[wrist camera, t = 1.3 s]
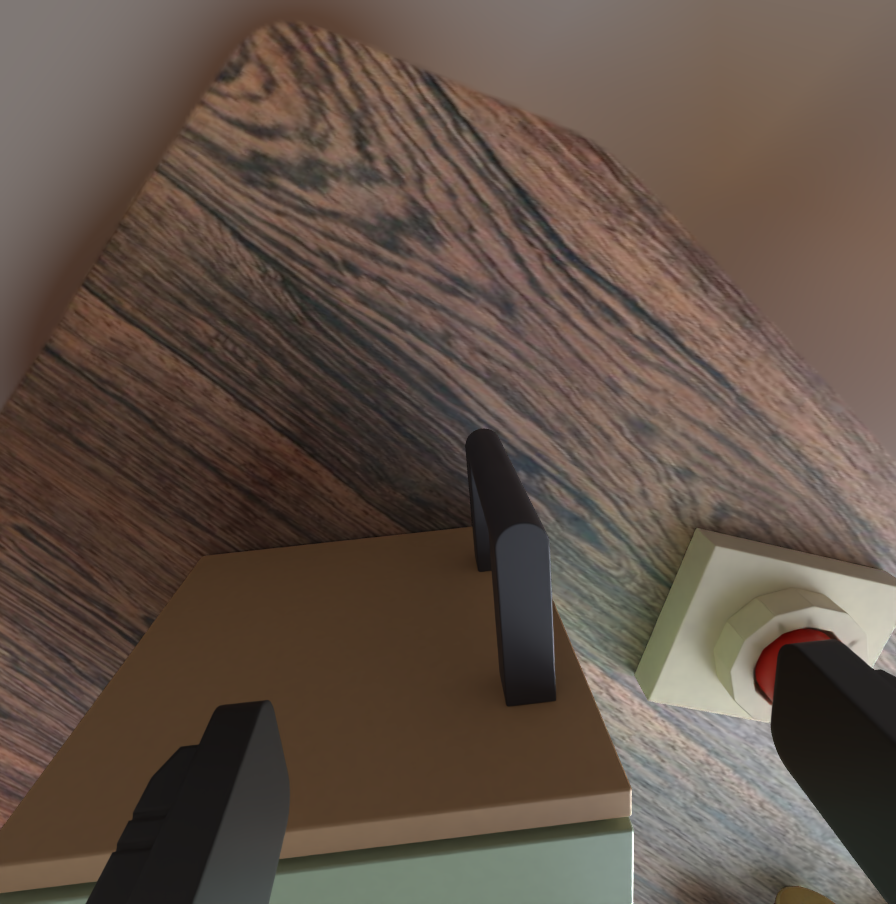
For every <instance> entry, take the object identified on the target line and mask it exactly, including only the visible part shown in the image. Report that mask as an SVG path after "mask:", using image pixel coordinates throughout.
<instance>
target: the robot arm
mask: <svg viewBox="0 0 896 904" xmlns="http://www.w3.org/2000/svg"><path fill="white" fill-rule="evenodd" d="M771 733H772V737H773V741H774V744H775V747H776V750H777V752H778V755H779V757H780V759H781V760H782V762H783V764H784V765H785V767H786V768H787V770H788V771H789V772H790V774H791V775H792V776H793V778H794V779H795V780H796V782H797V783H798V784H799V786H800V787H801V788H802V790H803V791H804V792H805V794H806V795H807V796H808V798H809V799H810V801H811V802H812V803H813V805H814V806H815V807H816V809H817V810H818V811H819V813H820V814H821V815H822V817H823V818H824V819H825V821H826V822H827V823H828V825H829V826H830V827H831V829H832V830H833V831H834V833H835V834H836V835H837V837H838V838H839V839H840V841H841V842H842V843H843V845H844V846H845V847H846V849H847V850H848V851H849V853H850V854H851V855H852V857H853V858H854V859H855V861H856V862H857V863H858V865H859V866H860V867H861V869H862V870H863V871H864V873H865V874H866V875H867V877H868V878H869V879H870V881H871V882H872V883H873V885H874V886H875V887H876V889H877V890H878V891H879V893H880V894H881V895H882V897H883V898H884V899H885V901H886V902H887V903H888V904H896V677H895V676H893V675H891V674H889V673H887V672H885V671H883V670H874V669H873V668H872V667H870V666H869V665H868V664H867V663H866V662H865V661H863V660H862V659H861V658H860V657H859V656H858V655H857V654H855V653H854V652H853V651H852V650H851V649H850V648H848V647H847V646H846V645H845V644H843V643H842V642H840V641H838V640H835V639H827V640H818V641H809V642H800V643H791V644H785V645H783V646H782V647H781V648H780V650H779V652H778V656H777V665H776V674H775V684H774V694H773V703H772V713H771ZM289 807H290V783H289V775H288V770H287V766H286V761H285V757H284V752H283V748H282V743H281V739H280V734H279V729H278V725H277V720H276V716H275V711H274V708H273V705H272V703H271V702H270V701H269V700H262V701H253V702H244V703H235V704H226V705H220V706H218V707H217V708H216V709H215V710H214V712H213V714H212V716H211V719H210V721H209V723H208V725H207V727H206V730H205V732H204V734H203V736H202V738H201V741H200V743H199V744H198V745H189V746H180V748H179V749H178V750H177V751H176V752H175V753H174V754H173V755H172V756H171V757H170V758H169V759H168V760H167V761H166V762H165V763H164V764H163V765H162V767H161V768H160V769H159V770H158V771H157V772H156V773H155V774H154V775H153V776H152V777H151V779H150V781H149V783H148V784H147V786H146V788H145V790H144V792H143V794H142V796H141V798H140V800H139V802H138V804H137V806H136V808H135V809H134V811H133V818H132V820H129V821H128V823H127V825H126V827H125V829H124V831H123V833H122V835H121V836H120V838H119V840H118V842H117V849H116V851H115V852H112V854H111V856H110V858H109V860H108V862H107V863H106V865H105V867H104V869H103V871H102V873H101V875H100V877H99V879H98V881H97V883H96V885H95V887H94V889H93V890H92V892H91V894H90V896H89V898H88V900H87V902H86V904H269V901H270V897H271V892H272V888H273V883H274V879H275V875H276V870H277V866H278V862H279V857H280V853H281V849H282V844H283V840H284V836H285V831H286V827H287V822H288V816H289Z"/></svg>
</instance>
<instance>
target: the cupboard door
mask: <svg viewBox="0 0 896 904" xmlns="http://www.w3.org/2000/svg"><path fill="white" fill-rule="evenodd" d="M465 449H466V460H467V472H468V483H469V495H470V506H471V517H472V527H464V528H455V529H446V530H437V531H428V532H418V533H409V534H400V535H391V536H382V537H372V538H363V539H354V540H345V541H336V542H327V543H317V544H308V545H299V546H290V547H281V548H271V549H262V550H253V551H244V552H235V553H226V554H216V555H207V556H202V557H201V558H200V560H199V561H198V563H197V564H196V565H195V567H194V568H193V569H192V571H191V572H190V573H189V575H188V576H187V577H186V579H185V580H184V582H183V583H182V584H181V586H180V587H179V588H178V590H177V591H176V592H175V594H174V595H173V596H172V598H171V599H170V601H169V602H168V603H167V605H166V606H165V607H164V609H163V610H162V611H161V613H160V614H159V615H158V617H157V618H156V620H155V621H154V622H153V624H152V625H151V626H150V628H149V629H148V630H147V632H146V633H145V634H144V636H143V637H142V638H141V640H140V641H139V643H138V644H137V645H136V647H135V648H134V649H133V651H132V652H131V653H130V655H129V656H128V657H127V659H126V660H125V662H124V663H123V664H122V666H121V667H120V668H119V670H118V671H117V672H116V674H115V675H114V676H113V678H112V679H111V681H110V682H109V683H108V685H107V686H106V687H105V689H104V690H103V691H102V693H101V694H100V695H99V697H98V698H97V700H96V701H95V702H94V704H93V705H92V706H91V708H90V709H89V710H88V712H87V713H86V714H85V716H84V717H83V719H82V720H81V721H80V723H79V724H78V725H77V727H76V728H75V729H74V731H73V732H72V733H71V735H70V736H69V738H68V739H67V740H66V742H65V743H64V744H63V746H62V747H61V748H60V750H59V751H58V752H57V754H56V755H55V756H54V758H53V759H52V761H51V762H50V763H49V765H48V766H47V767H46V769H45V770H44V771H43V773H42V774H41V775H40V777H39V778H38V780H37V781H36V782H35V784H34V785H33V786H32V788H31V789H30V790H29V792H28V793H27V794H26V796H25V797H24V799H23V800H22V801H21V803H20V804H19V805H18V807H17V808H16V809H15V811H14V812H13V813H12V815H11V816H10V818H9V819H8V820H7V822H6V823H5V824H4V826H3V827H2V828H1V830H0V893H6V892H14V891H22V890H31V889H39V888H47V887H55V886H63V885H72V884H80V883H88V882H96V881H98V879H99V877H100V875H101V873H102V871H103V869H104V867H105V865H106V863H107V862H108V860H109V858H110V856H111V854H112V852H115V851H116V849H117V842H118V840H119V838H120V836H121V835H122V833H123V831H124V829H125V827H126V825H127V823H128V821H129V820H132V818H133V811H134V809H135V808H136V806H137V804H138V802H139V800H140V798H141V796H142V794H143V792H144V790H145V788H146V786H147V784H148V783H149V781H150V779H151V777H152V776H153V775H154V774H155V773H156V772H157V771H158V770H159V769H160V768H161V767H162V765H163V764H164V763H165V762H166V761H167V760H168V759H169V758H170V757H171V756H172V755H173V754H174V753H175V752H176V751H177V750H178V749H179V748H180V746H189V745H198V744H199V743H200V741H201V738H202V736H203V734H204V732H205V730H206V727H207V725H208V723H209V721H210V719H211V716H212V714H213V712H214V710H215V709H216V708H217V707H218V706H220V705H226V704H235V703H244V702H253V701H262V700H269V701H270V702H271V703H272V705H273V708H274V711H275V716H276V720H277V725H278V729H279V734H280V739H281V743H282V748H283V752H284V757H285V761H286V766H287V770H288V775H289V783H290V807H289V816H288V822H287V827H286V831H285V836H284V840H283V844H282V849H281V853H280V857H279V859H285V858H293V857H301V856H309V855H317V854H326V853H334V852H342V851H350V850H358V849H366V848H375V847H383V846H391V845H399V844H407V843H416V842H424V841H432V840H440V839H448V838H457V837H465V836H473V835H481V834H489V833H498V832H506V831H514V830H522V829H530V828H538V827H547V826H555V825H563V824H571V823H579V822H588V821H596V820H604V819H612V818H620V817H629V816H631V809H632V788H631V786H630V783H629V781H628V779H627V776H626V774H625V771H624V769H623V767H622V764H621V762H620V759H619V757H618V755H617V752H616V750H615V747H614V745H613V743H612V740H611V738H610V735H609V733H608V731H607V728H606V726H605V723H604V721H603V719H602V716H601V714H600V711H599V709H598V707H597V704H596V702H595V700H594V697H593V695H592V692H591V690H590V688H589V685H588V683H587V680H586V678H585V676H584V673H583V671H582V668H581V666H580V664H579V661H578V659H577V656H576V654H575V652H574V649H573V647H572V644H571V642H570V640H569V637H568V635H567V632H566V630H565V628H564V625H563V623H562V620H561V618H560V616H559V613H558V611H557V608H556V606H555V604H554V601H553V599H552V583H551V559H550V541H549V537H548V535H547V533H546V531H545V529H544V527H543V525H542V523H541V521H540V519H539V517H538V515H537V513H536V511H535V509H534V507H533V505H532V503H531V501H530V499H529V497H528V495H527V493H526V491H525V489H524V487H523V485H522V483H521V481H520V479H519V477H518V475H517V473H516V471H515V469H514V467H513V465H512V463H511V461H510V459H509V457H508V455H507V453H506V451H505V449H504V447H503V445H502V443H501V441H500V439H499V437H498V435H497V434H496V433H495V432H493V431H492V430H489V429H478V430H475V431H474V432H472V433H471V434H470V435H469V436H468V438H467V440H466V444H465Z"/></svg>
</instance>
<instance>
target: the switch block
mask: <svg viewBox="0 0 896 904" xmlns="http://www.w3.org/2000/svg"><path fill="white" fill-rule="evenodd" d="M895 626H896V578H895V577H894V576H892V575H891V574H889V573H887V572H886V571H883V570H879V569H875V568H870V567H866V566H862V565H857V564H853V563H849V562H844V561H840V560H835V559H831V558H827V557H822V556H818V555H814V554H809V553H805V552H800V551H796V550H792V549H787V548H783V547H779V546H774V545H770V544H765V543H761V542H757V541H752V540H748V539H744V538H739V537H735V536H731V535H726V534H722V533H717V532H713V531H709V530H704V529H700V528H696V530H695V532H694V535H693V537H692V539H691V542H690V544H689V546H688V549H687V551H686V554H685V556H684V558H683V561H682V563H681V565H680V568H679V570H678V573H677V575H676V577H675V580H674V582H673V584H672V587H671V589H670V592H669V594H668V596H667V599H666V601H665V603H664V606H663V608H662V611H661V613H660V615H659V618H658V620H657V622H656V625H655V627H654V630H653V632H652V634H651V637H650V639H649V641H648V644H647V646H646V649H645V651H644V653H643V656H642V658H641V660H640V663H639V665H638V667H637V670H636V672H635V678H636V679H637V681H638V683H639V685H640V687H641V689H642V690H643V692H644V694H645V696H646V698H647V700H648V701H652V702H657V703H663V704H668V705H673V706H679V707H684V708H690V709H695V710H701V711H706V712H711V713H717V714H722V715H728V716H733V717H739V718H744V719H749V720H755V721H760V722H766V723H771V713H772V703H773V702H772V701H771V700H770V698H769V697H768V696H767V695H766V694H765V692H764V691H763V690H762V689H761V687H760V686H759V684H758V682H757V680H756V675H755V667H756V663H757V660H758V658H759V656H760V654H761V652H762V651H763V649H764V648H765V647H767V646H768V645H769V644H770V643H772V642H773V641H774V640H776V639H777V638H778V637H779V636H781V635H782V634H784V633H786V632H789V631H793V630H797V629H814V630H817V631H820V632H822V633H824V634H826V635H827V636H828V637H830V638H831V639H835V640H838V641H840V642H842V643H843V644H845V645H846V646H847V647H848V648H850V649H851V650H852V651H853V652H854V653H855V654H857V655H858V656H859V657H860V658H861V659H862V660H863V661H865V662H866V663H867V664H868V665H869V666H870V667H873V665H874V664H875V662H876V660H877V658H878V657H879V655H880V653H881V651H882V649H883V648H884V646H885V644H886V642H887V641H888V639H889V637H890V635H891V633H892V632H893V630H894V628H895Z"/></svg>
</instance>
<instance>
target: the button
mask: <svg viewBox="0 0 896 904" xmlns="http://www.w3.org/2000/svg"><path fill="white" fill-rule="evenodd" d="M827 639H831V638H830V637H828V636H827V635H826V634H824V633H822V632H820V631H817V630H814V629H797V630H793V631H789V632H786V633H784V634H782V635H781V636H779V637H778V638H777V639H776V640H774V641H773V642H772V643H770V644H769V645H768V646H767V647H765V648H764V649H763V651H762V652H761V654H760V656H759V658H758V660H757V663H756V667H755V675H756V680H757V682H758V684H759V686H760V687H761V689H762V690H763V691H764V692H765V694H766V695H767V696H768V697H769V698H770V700H771V701H772V702H773V694H774V684H775V674H776V665H777V656H778V652H779V650H780V648H781V647H782V646H783V645H785V644H791V643H800V642H809V641H818V640H827Z"/></svg>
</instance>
